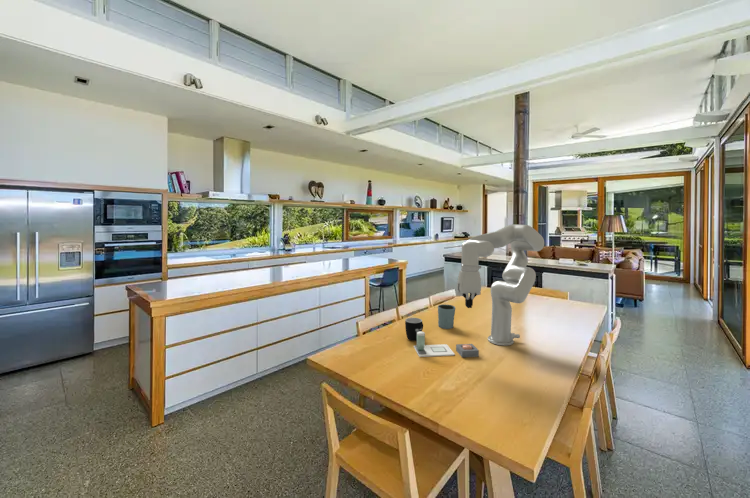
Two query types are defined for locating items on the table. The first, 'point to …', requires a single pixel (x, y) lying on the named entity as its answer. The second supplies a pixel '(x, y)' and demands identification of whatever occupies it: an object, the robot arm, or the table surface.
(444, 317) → the blue-gray cup
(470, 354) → the button housing
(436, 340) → the table surface
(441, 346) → the picture board
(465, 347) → the button
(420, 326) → the mug
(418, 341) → the marker
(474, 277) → the robot arm
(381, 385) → the table surface
